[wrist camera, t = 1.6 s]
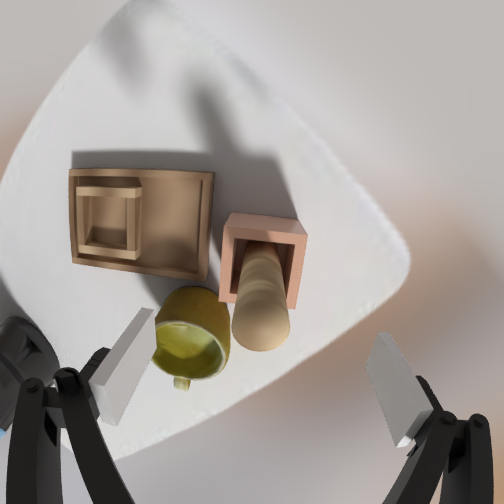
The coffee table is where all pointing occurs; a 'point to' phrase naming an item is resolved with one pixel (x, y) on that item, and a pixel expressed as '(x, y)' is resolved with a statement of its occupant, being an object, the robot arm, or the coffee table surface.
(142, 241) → the tray
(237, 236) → the pink hollow box
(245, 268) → the dowel
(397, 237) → the coffee table surface
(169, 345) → the mug
